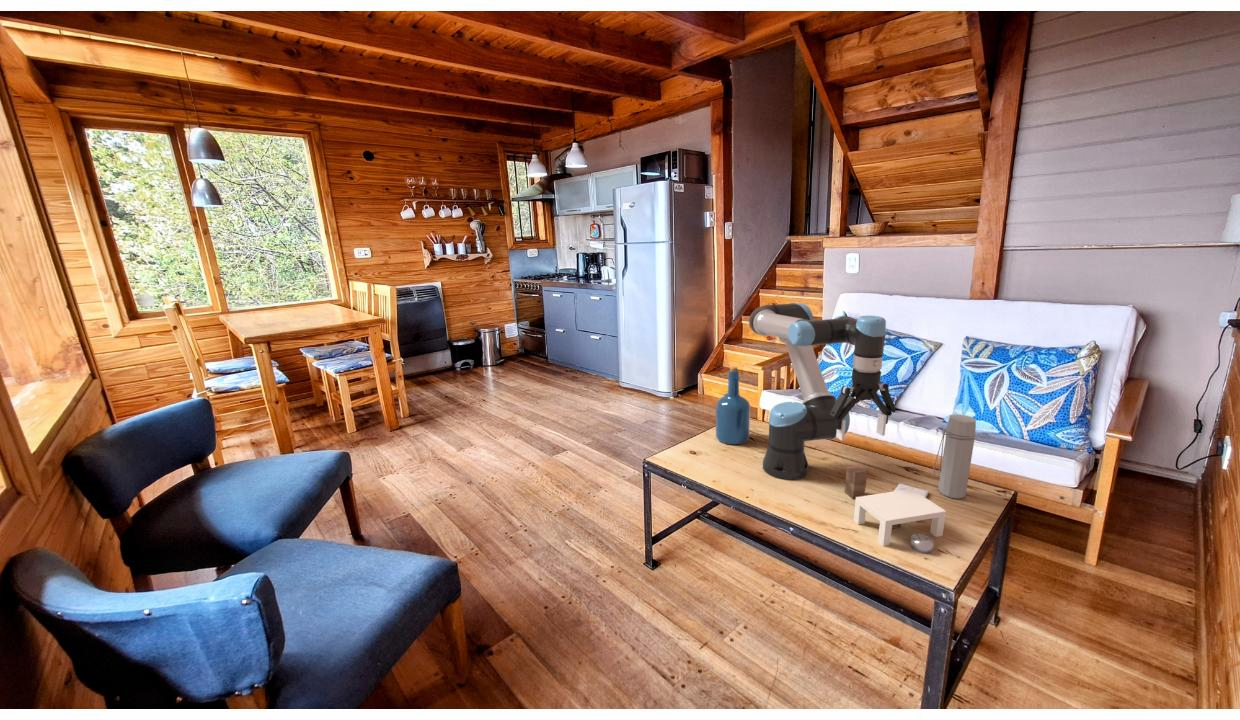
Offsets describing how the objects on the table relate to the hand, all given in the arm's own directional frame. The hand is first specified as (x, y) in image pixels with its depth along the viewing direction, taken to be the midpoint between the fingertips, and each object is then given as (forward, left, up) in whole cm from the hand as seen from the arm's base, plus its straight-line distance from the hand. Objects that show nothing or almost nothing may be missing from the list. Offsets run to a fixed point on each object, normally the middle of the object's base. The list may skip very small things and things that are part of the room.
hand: (860, 436), depth 148 cm
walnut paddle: (+8, 0, -20) cm, 21 cm away
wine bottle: (-50, -19, -20) cm, 57 cm away
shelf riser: (+18, 0, -20) cm, 27 cm away
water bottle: (+6, +28, -20) cm, 35 cm away
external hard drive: (+6, +14, -20) cm, 25 cm away
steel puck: (+27, 0, -20) cm, 34 cm away
